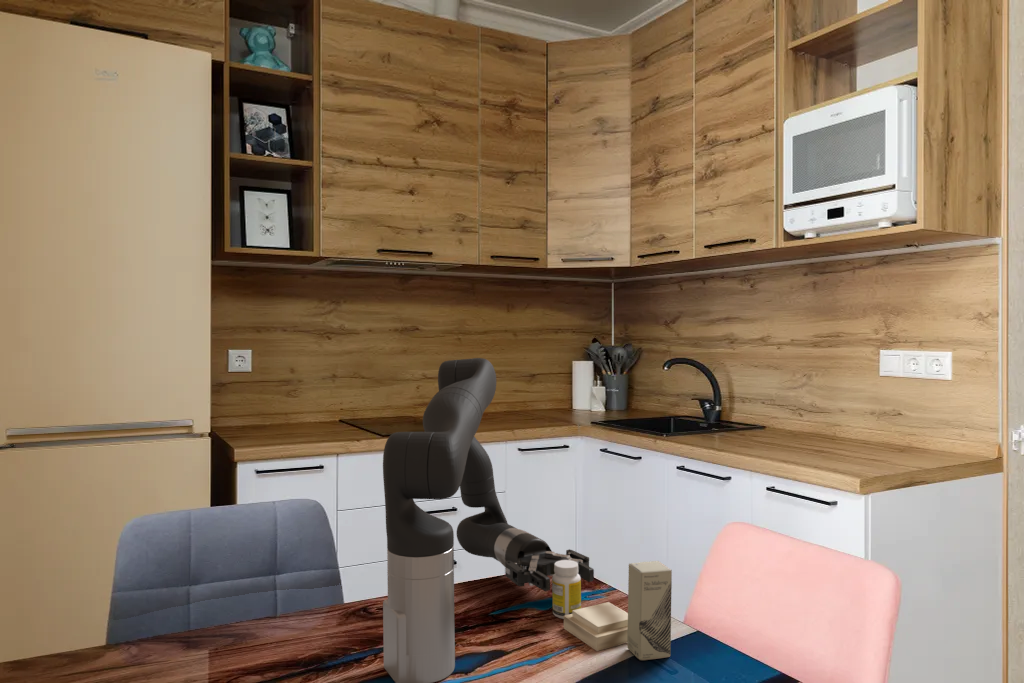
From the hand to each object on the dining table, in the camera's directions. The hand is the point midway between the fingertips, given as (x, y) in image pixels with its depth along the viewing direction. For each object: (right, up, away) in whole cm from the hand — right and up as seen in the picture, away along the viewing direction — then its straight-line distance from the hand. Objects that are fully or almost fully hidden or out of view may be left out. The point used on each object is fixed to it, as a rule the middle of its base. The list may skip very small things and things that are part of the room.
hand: (570, 580), depth 117 cm
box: (+10, -6, -13) cm, 18 cm away
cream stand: (+5, -6, -6) cm, 10 cm away
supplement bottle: (-1, -6, +1) cm, 6 cm away
